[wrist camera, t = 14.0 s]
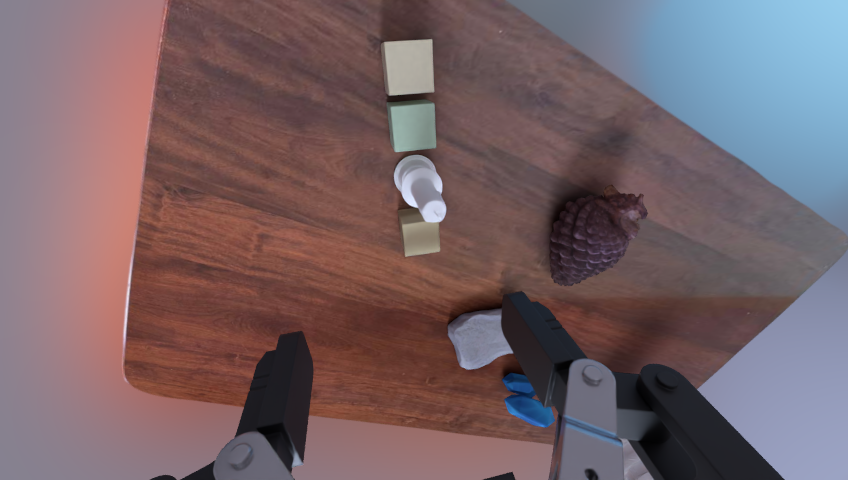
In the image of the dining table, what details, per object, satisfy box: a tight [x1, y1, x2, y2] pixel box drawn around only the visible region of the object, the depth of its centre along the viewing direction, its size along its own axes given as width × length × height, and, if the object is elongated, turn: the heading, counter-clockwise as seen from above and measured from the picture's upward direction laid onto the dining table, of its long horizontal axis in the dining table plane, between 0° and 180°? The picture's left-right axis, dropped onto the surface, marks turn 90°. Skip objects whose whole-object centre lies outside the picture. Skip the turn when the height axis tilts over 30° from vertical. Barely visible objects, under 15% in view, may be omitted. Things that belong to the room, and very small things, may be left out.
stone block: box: [448, 308, 513, 370], centre depth 54 cm, size 12×5×10 cm
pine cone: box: [550, 185, 648, 286], centre depth 45 cm, size 18×10×10 cm
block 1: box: [381, 39, 434, 96], centre depth 33 cm, size 4×4×4 cm
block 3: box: [398, 208, 440, 256], centre depth 42 cm, size 4×4×4 cm
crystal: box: [502, 373, 555, 427], centre depth 61 cm, size 7×9×12 cm
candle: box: [394, 155, 446, 222], centre depth 35 cm, size 5×5×12 cm
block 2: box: [387, 99, 436, 152], centre depth 35 cm, size 4×4×4 cm
